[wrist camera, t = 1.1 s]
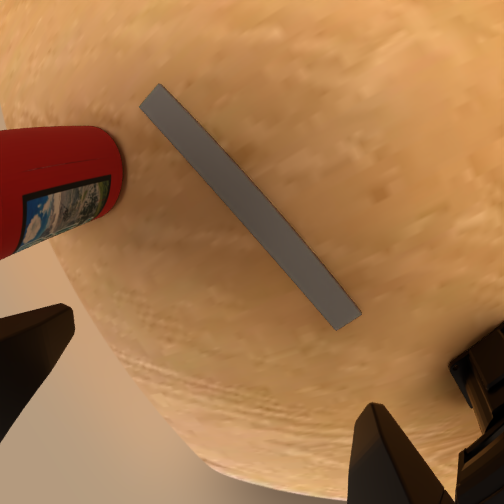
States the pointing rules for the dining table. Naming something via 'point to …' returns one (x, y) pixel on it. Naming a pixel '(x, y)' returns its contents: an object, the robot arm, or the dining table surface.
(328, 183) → the dining table surface
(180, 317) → the dining table surface
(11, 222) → the beverage can
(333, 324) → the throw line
